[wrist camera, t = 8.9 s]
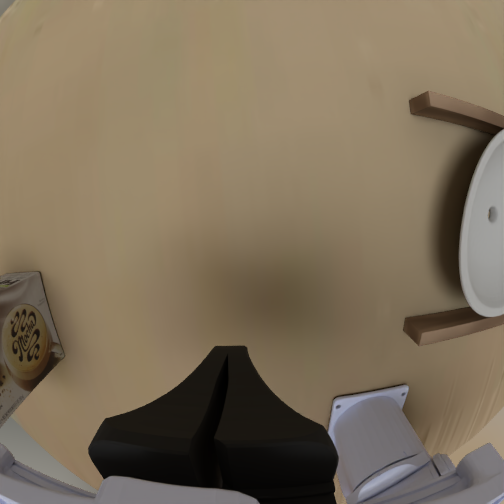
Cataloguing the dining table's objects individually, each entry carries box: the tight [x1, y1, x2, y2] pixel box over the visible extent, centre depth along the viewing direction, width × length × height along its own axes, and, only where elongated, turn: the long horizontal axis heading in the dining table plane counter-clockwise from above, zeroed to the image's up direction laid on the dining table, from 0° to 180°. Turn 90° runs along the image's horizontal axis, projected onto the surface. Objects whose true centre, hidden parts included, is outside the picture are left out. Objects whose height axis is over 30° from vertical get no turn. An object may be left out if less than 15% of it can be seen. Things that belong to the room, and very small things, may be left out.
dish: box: [459, 129, 504, 317], centre depth 18 cm, size 18×14×5 cm
